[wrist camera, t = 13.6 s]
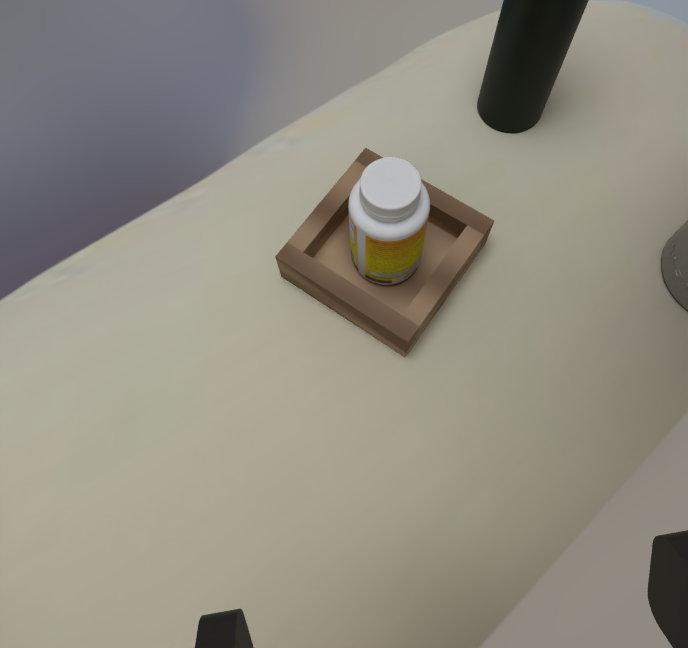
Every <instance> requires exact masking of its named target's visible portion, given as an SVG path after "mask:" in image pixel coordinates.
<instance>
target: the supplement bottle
mask: <svg viewBox="0 0 688 648" xmlns="http://www.w3.org/2000/svg"><path fill="white" fill-rule="evenodd" d="M348 209H349V227H350V244H351V256H352V261H353V264H354V266H355V268H356V269H357V271H358V272H359V273H360V274H361V275H362V276H363V277H364V278H366V279H367V280H369V281H371V282H374V283H377V284H382V285H391V284H396V283H399V282H402V281H404V280H405V279H407V278H408V277H410V276H411V275H412V274H413V273H414V272H415V270H416V269H417V267H418V265H419V262H420V259H421V255H422V249H423V244H424V238H425V233H426V228H427V222H428V217H429V211H430V198H429V195H428V192H427V189H426V188H425V186H424V184H423V183H422V182H421V177H420V175H419V173H418V171H417V169H416V168H415V167H414V166H413V165H412V164H411V163H409V162H407V161H406V160H403V159H400V158H396V157H386V158H381V159H378V160H376V161H374V162H372V163H371V164H370V165H368V166H367V167H366V169H365V170H364V171H363V173H362V176H361V178H360V179H359V181H358V182H357V183H356V184H355V185H354V187H353V189H352V191H351V193H350V197H349V205H348Z"/></svg>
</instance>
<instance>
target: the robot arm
mask: <svg viewBox="0 0 688 648" xmlns="http://www.w3.org/2000/svg"><path fill="white" fill-rule="evenodd" d="M661 260H662V273H663V276H664V280H665V282H666V284H667V286H668V288H669V290H670V292H671V293H672V295H673V296H674V297H675V298H676V300H677V301H678V302H679V303H680V304H681V305H682V306H683V307H685V308H686V309H687V310H688V220H687V221H686V222H685V223H684V224H683V225H682V226H681V227H680V228H679V229H678V230H677V231H676V232H675V234H674V235H673V236H672V237H671V238H670V239H669V240H668V242H667V244H666V246H665V248H664V250H663V255H662V259H661ZM648 600H649V604H650V607H651V611H652V613H653V616H654V618H655V620H656V622H657V624H658V625H659V627H660V629H661V630H662V631H663V633H664V635H665V636H666V638H667V639H668V641H669V642H670V644H671V645H672V647H673V648H688V530H687V531H682V532H676V533H670V534H665V535H659V536H656V537H655V538H654V540H653V545H652V555H651V564H650V573H649V583H648ZM195 648H254V647H253V644H252V641H251V637H250V634H249V630H248V627H247V623H246V620H245V617H244V614H243V611H242V610H241V609H236V610H230V611H224V612H219V613H213V614H208V615H203V616H201V618H200V621H199V625H198V631H197V638H196V644H195Z"/></svg>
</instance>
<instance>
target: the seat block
mask: <svg viewBox="0 0 688 648" xmlns="http://www.w3.org/2000/svg"><path fill="white" fill-rule="evenodd" d="M381 158H383V157H381V156H379V155H378V154H376V153H374V152H372V151H371V150H369V149H367V148H365V149H364V150H363V152H362V153H361V154H360V155H359V156H358V158H357V159H356V160H355V161H354V162H353V164H352V165H351V166H350V167H349V168H348V170H347V171H346V172H345V173H344V174H343V176H342V177H341V178H340V179H339V180H338V182H337V183H336V184H335V185H334V187H333V188H332V189H331V190H330V191H329V193H328V194H327V195H326V196H325V197H324V199H323V200H322V201H321V202H320V203H319V205H318V206H317V207H316V208H315V209H314V211H313V212H312V213H311V214H310V215H309V217H308V218H307V219H306V220H305V221H304V223H303V224H302V225H301V226H300V228H299V229H298V230H297V231H296V232H295V234H294V235H293V236H292V237H291V238H290V240H289V241H288V242H287V243H286V244H285V246H284V247H283V248H282V249H281V250H280V252H279V253H278V254H277V255H276V256H275V257H276V260H277V264H278V267H279V270H280V273H281V276H282V277H283V278H285V279H286V280H288V281H289V282H291V283H292V284H294V285H295V286H297V287H298V288H300V289H302V290H303V291H305V292H306V293H308V294H309V295H311V296H312V297H314V298H315V299H317V300H318V301H320V302H321V303H323V304H324V305H326V306H328V307H329V308H331V309H332V310H334V311H335V312H337V313H338V314H340V315H341V316H343V317H344V318H346V319H347V320H349V321H350V322H352V323H354V324H355V325H357V326H358V327H360V328H361V329H363V330H364V331H366V332H367V333H369V334H370V335H372V336H373V337H375V338H376V339H378V340H379V341H381V342H383V343H384V344H386V345H387V346H389V347H390V348H392V349H393V350H395V351H396V352H398V353H399V354H401V355H402V356H404V357H405V356H406V355H407V353H408V352H409V351H410V349H411V348H412V346H413V345H414V343H415V342H416V341H417V339H418V338H419V336H420V335H421V334H422V332H423V331H424V329H425V328H426V326H427V325H428V324H429V322H430V321H431V319H432V318H433V316H434V315H435V314H436V312H437V311H438V309H439V308H440V307H441V305H442V304H443V302H444V301H445V299H446V298H447V297H448V295H449V294H450V292H451V291H452V290H453V288H454V287H455V285H456V284H457V282H458V281H459V280H460V278H461V277H462V275H463V274H464V273H465V271H466V270H467V268H468V267H469V265H470V264H471V263H472V261H473V260H474V258H475V257H476V255H477V254H478V253H479V251H480V250H481V248H482V247H483V246H484V244H485V243H486V240H487V238H488V235H489V233H490V230H491V228H492V225H493V223H494V220H492V219H490V218H489V217H487V216H485V215H483V214H482V213H480V212H478V211H476V210H474V209H473V208H471V207H469V206H467V205H466V204H464V203H462V202H460V201H459V200H457V199H455V198H453V197H452V196H450V195H448V194H446V193H445V192H443V191H441V190H439V189H437V188H436V187H434V186H432V185H430V184H429V183H427V182H425V181H423V180H422V179H421V182H422V183H423V184H424V186H425V188H426V189H427V192H428V195H429V198H430V211H429V217H428V222H427V228H426V233H425V238H424V244H423V249H422V255H421V259H420V262H419V265H418V267H417V269H416V270H415V272H414V273H413V274H412V275H411V276H410V277H408V278H407V279H405V280H404V281H402V282H399V283H396V284H391V285H382V284H377V283H374V282H371V281H369V280H367V279H366V278H364V277H363V276H362V275H361V274H360V273H359V272H358V271H357V269H356V268H355V266H354V264H353V261H352V256H351V244H350V227H349V209H348V205H349V197H350V193H351V191H352V189H353V187H354V185H355V184H356V183H357V182H358V181H359V179H360V178H361V176H362V173H363V171H364V170H365V169H366V167H367V166H368V165H370V164H371V163H372V162H374V161H376V160H378V159H381Z"/></svg>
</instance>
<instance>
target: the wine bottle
mask: <svg viewBox="0 0 688 648" xmlns="http://www.w3.org/2000/svg"><path fill="white" fill-rule="evenodd" d="M587 3H588V0H504V1H503V5H502V9H501V13H500V17H499V20H498V24H497V28H496V32H495V36H494V40H493V44H492V48H491V51H490V55H489V59H488V63H487V67H486V71H485V75H484V79H483V82H482V86H481V90H480V94H479V98H478V103H477V107H478V112H479V114H480V116H481V118H482V119H483V120H484V122H485V123H486V124H488V125H489V126H490V127H492V128H494V129H496V130H499V131H502V132H508V133H516V132H522V131H525V130H527V129H529V128H531V127H532V126H534V125H535V124H536V123H537V121H538V120H539V118H540V116H541V114H542V112H543V109H544V107H545V104H546V102H547V100H548V97H549V95H550V92H551V90H552V87H553V85H554V83H555V80H556V78H557V75H558V73H559V71H560V68H561V66H562V63H563V61H564V58H565V56H566V54H567V51H568V49H569V46H570V44H571V42H572V39H573V37H574V34H575V32H576V29H577V27H578V25H579V22H580V20H581V17H582V15H583V13H584V10H585V8H586V5H587Z"/></svg>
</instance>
